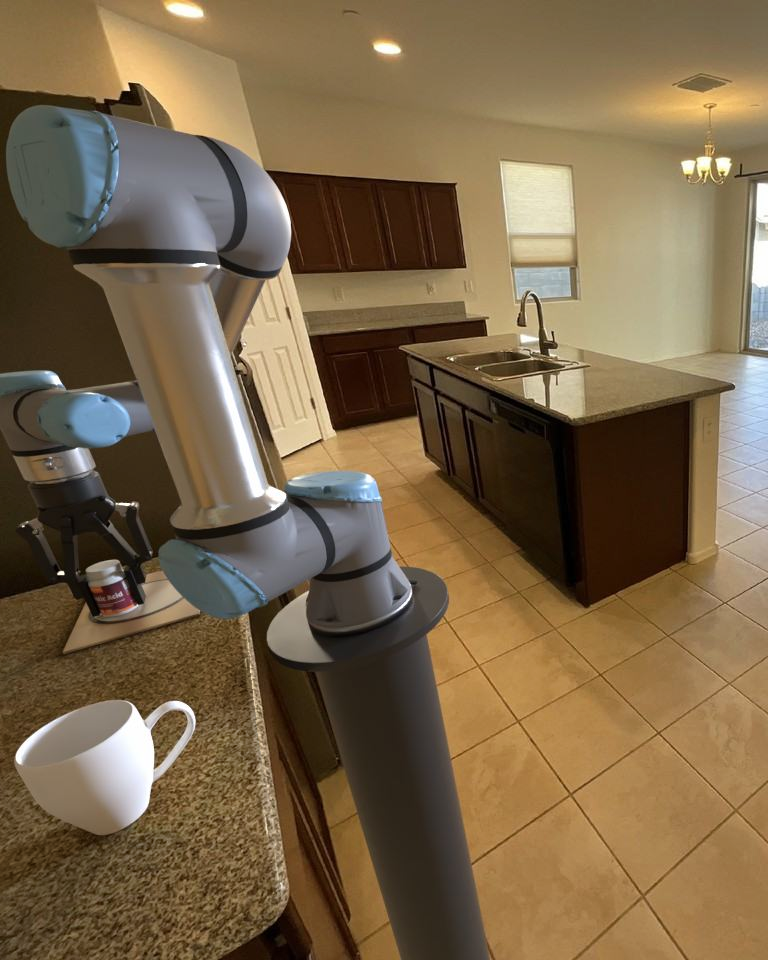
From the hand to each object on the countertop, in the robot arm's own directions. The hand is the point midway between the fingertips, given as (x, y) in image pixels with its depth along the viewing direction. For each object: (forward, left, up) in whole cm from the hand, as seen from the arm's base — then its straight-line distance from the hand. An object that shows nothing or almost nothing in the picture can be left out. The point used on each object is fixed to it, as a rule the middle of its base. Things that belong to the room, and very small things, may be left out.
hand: (120, 606), depth 87 cm
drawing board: (-3, -2, -1) cm, 3 cm away
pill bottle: (0, 0, -1) cm, 1 cm away
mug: (-8, +48, -1) cm, 49 cm away
